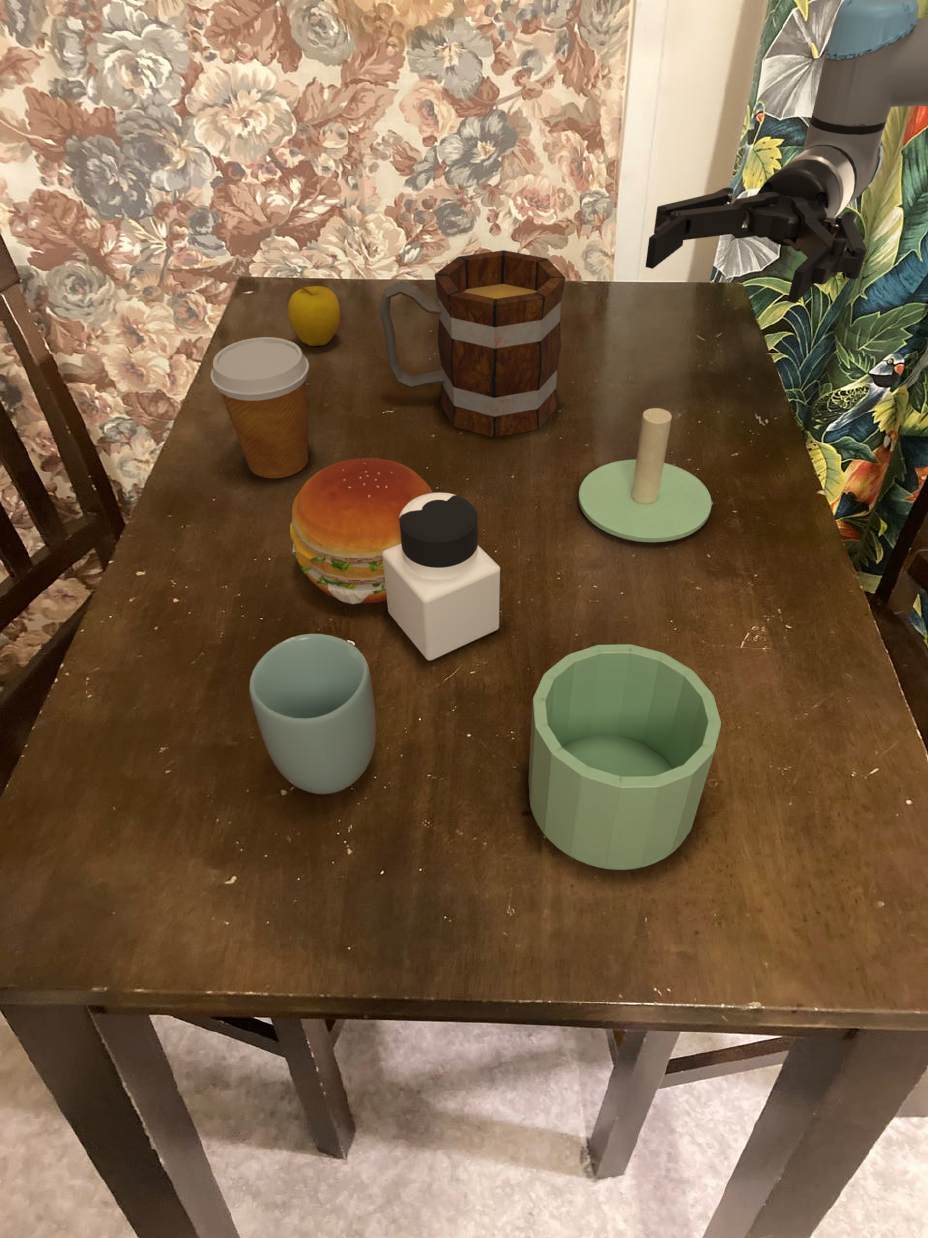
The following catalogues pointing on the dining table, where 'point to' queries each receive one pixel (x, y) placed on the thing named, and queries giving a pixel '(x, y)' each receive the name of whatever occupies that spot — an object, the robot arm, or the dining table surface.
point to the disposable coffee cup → (266, 402)
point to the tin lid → (646, 491)
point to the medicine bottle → (441, 576)
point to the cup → (315, 711)
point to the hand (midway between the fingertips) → (720, 269)
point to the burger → (352, 525)
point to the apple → (314, 314)
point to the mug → (490, 340)
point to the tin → (620, 754)
